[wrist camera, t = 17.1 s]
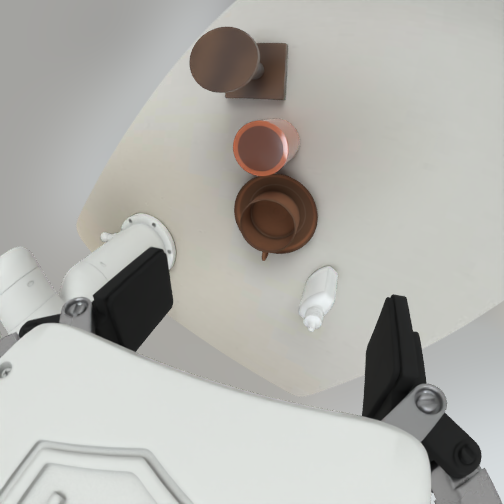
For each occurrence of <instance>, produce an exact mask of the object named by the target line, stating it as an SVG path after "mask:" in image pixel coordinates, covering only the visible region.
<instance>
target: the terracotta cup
mask: <svg viewBox="0 0 504 504" xmlns="http://www.w3.org/2000/svg"><path fill="white" fill-rule="evenodd" d="M299 145H300V139H299V135H298V132H297V130H296V129H295V127H294V126H293V125H292V124H291V123H289V122H288V121H286V120H284V119H279V118H272V119H265V120H258V121H253V122H250V123H247V124H246V125H244V126H243V127H242V128H241V129H240V130H239V131H238V132H237V134H236V136H235V139H234V143H233V151H234V156H235V158H236V161H237V162H238V164H239V165H240V166H241V167H242V168H243V169H244V170H245V171H247V172H248V173H250V174H253V175H256V176H268V175H272V174H274V173H276V172H277V171H279V170H280V169H281V168H282V167H283V166H284V165H285V164H286V163H288V162H289V161H290V160H291V159H292V158H293V157H294V156H295V155H296V153H297V151H298V149H299Z"/></svg>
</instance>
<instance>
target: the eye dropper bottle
mask: <svg viewBox="0 0 504 504" xmlns="http://www.w3.org/2000/svg"><path fill="white" fill-rule="evenodd" d="M337 280H338V274H337V272H336V271H335V270H334V269H333V268H332V267H330V266H326V267H323V268H321V269H319V270H317V271H315V272H314V273H313V274H312V275H311V276H310V277H309V279H308V280H307V282H306V284H305V288H304V291H303V295H302V298H301V302H300V306H299V314H300V315H301V316H302V317H303V318H304V324H305V326H306V327H308V330H309V331H310V332H312V331H314V329H317V328H319V327H320V326H321V325H322V320H323V316H324V315H325V314H327V313H328V312H329V310H330V309H331V308H332V306H333V304H334V302H335V297H336V289H337Z"/></svg>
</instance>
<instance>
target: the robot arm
mask: <svg viewBox="0 0 504 504" xmlns="http://www.w3.org/2000/svg"><path fill="white" fill-rule="evenodd" d="M101 241H102V242H106V243H105V244H103V245H102V246H101V247H99V248H98V249H96V250H95V251H93V252H92V253H91V254H90V255H88V256H87V257H85V258H84V259H82V260H81V261H80V262H78V263H77V264H75V265H74V266H73V267H72V268H70V269H69V271H68V272H67V273H66V275H65V277H64V279H63V282H62V285H61V288H60V293H59V295H58V294H57V292H56V291H55V290H54V288H53V287H52V285H51V283H50V282H49V280H48V279H47V277H46V275H45V274H44V272H43V270H42V269H41V267H40V265H39V263H38V262H37V260H36V258H35V257H34V255H33V254H32V253H31V252H30V251H29V250H28V249H27V248H25V247H16V248H13V249H11V250H9V251H7V252H6V253H4V254H3V255H2V256H0V321H1V323H2V324H3V326H4V327H5V329H6V330H7V332H8V334H9V335H8V336H6V337H3V336H2V334H1V332H0V504H430V503H431V492H432V493H434V495H435V498H436V500H435V501H434V502H435V504H502V502H501V500H500V498H499V495H498V493H497V491H496V489H495V487H494V485H493V483H492V481H491V479H490V477H489V475H488V473H487V471H486V469H485V468H484V469H481V467H480V465H479V464H480V462H481V450H480V448H479V446H478V445H477V443H476V442H475V441H474V440H473V439H472V438H471V437H470V436H469V435H468V434H467V433H466V432H465V431H464V430H462V429H461V428H460V427H459V426H458V425H457V424H456V423H455V422H454V421H453V420H452V419H451V418H450V417H449V416H448V415H447V414H446V413H444V412H445V410H446V407H447V400H446V397H445V395H444V393H443V392H442V391H441V390H440V389H439V388H438V387H436V386H434V385H431V384H426V376H425V368H424V361H423V354H422V348H421V342H420V337H419V333H418V332H413V330H412V324H411V318H410V313H409V308H408V303H407V298H406V297H405V296H399V295H394V294H393V295H392V296H391V298H389V297H387V298H386V300H385V303H384V305H383V308H382V311H381V313H380V316H379V319H378V321H377V324H376V326H375V329H374V331H373V334H372V336H371V339H370V341H369V344H368V346H367V350H366V366H365V385H364V400H363V411H362V416H358V415H353V414H349V413H344V412H338V411H333V410H328V409H323V408H317V407H313V406H308V405H303V404H299V403H294V402H290V401H286V400H281V399H277V398H273V397H269V396H265V395H261V394H258V393H254V392H250V391H247V390H243V389H239V388H236V387H233V386H229V385H226V384H223V383H220V382H216V381H213V380H210V379H207V378H204V377H201V376H198V375H195V374H192V373H189V372H186V371H183V370H181V369H178V368H175V367H172V366H170V365H167V364H164V363H162V362H159V361H157V360H154V359H152V358H149V357H147V356H144V355H142V354H139V353H137V352H136V351H137V349H138V348H139V347H140V346H141V344H142V343H143V342H144V341H145V340H146V338H147V337H148V336H149V335H150V333H151V332H152V331H153V329H154V328H155V327H156V326H157V325H158V324H159V322H160V321H161V320H162V319H163V317H164V316H165V315H166V314H167V313H168V312H169V310H170V309H171V308H172V305H173V296H172V289H171V282H170V275H169V270H170V269H171V267H172V266H173V264H174V262H175V257H176V249H175V244H174V241H173V239H172V236H171V235H170V233H169V231H168V230H167V228H166V227H165V226H164V225H163V224H162V223H161V222H160V221H159V220H157V219H156V218H155V217H153V216H150V215H148V214H144V213H138V214H134V215H132V216H130V217H129V218H127V219H126V220H125V221H124V223H123V225H122V227H121V232H119V233H114V234H111V233H106V232H103V233H102V234H101Z"/></svg>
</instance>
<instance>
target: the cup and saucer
mask: <svg viewBox="0 0 504 504" xmlns="http://www.w3.org/2000/svg"><path fill="white" fill-rule="evenodd" d="M234 213H235V219H236V223H237V225H238V228H239V230H240V231H241V233H242V235H243V237H244V238H245V240H246V241H247V242H248V243H249V244H250V245H251V246H252V247H254V248H255V249H257V250H259V251H262V252H263V253H262V260H263V261H265V260H266V258H267V256H268V253H276V254H283V253H290V252H293V251H296V250H298V249H300V248H301V247H303V246H304V245H305V244H306V243H307V242H308V241H309V240H310V239H311V237H312V236H313V234H314V232H315V229H316V226H317V219H318V215H317V208H316V205H315V202H314V199H313V197H312V196H311V194H310V193H309V191H308V190H307V189H306V188H305V187H304V186H303V185H302V184H301V183H300V182H298V181H297V180H295V179H293V178H291V177H289V176H286V175H282V174H272V175H268V176H257V177H255V178H253V179H251V180H250V181H248V182H247V183H246V184H245V185H244V186H243V187H242V188H241V190H240V191H239V193H238V195H237V198H236V201H235V207H234Z"/></svg>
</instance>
